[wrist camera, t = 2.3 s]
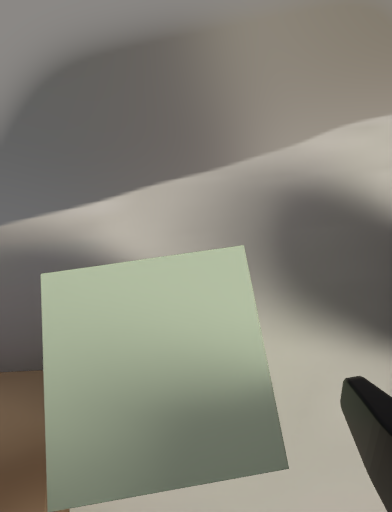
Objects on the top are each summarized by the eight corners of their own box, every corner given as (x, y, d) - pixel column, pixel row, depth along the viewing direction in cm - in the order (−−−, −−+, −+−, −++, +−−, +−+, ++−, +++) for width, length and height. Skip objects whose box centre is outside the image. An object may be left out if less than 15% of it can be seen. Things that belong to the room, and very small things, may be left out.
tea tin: (235, 411, 18) (288, 468, 8) (125, 430, 17) (47, 512, 8) (216, 303, 19) (243, 245, 10) (115, 318, 19) (40, 273, 9)
